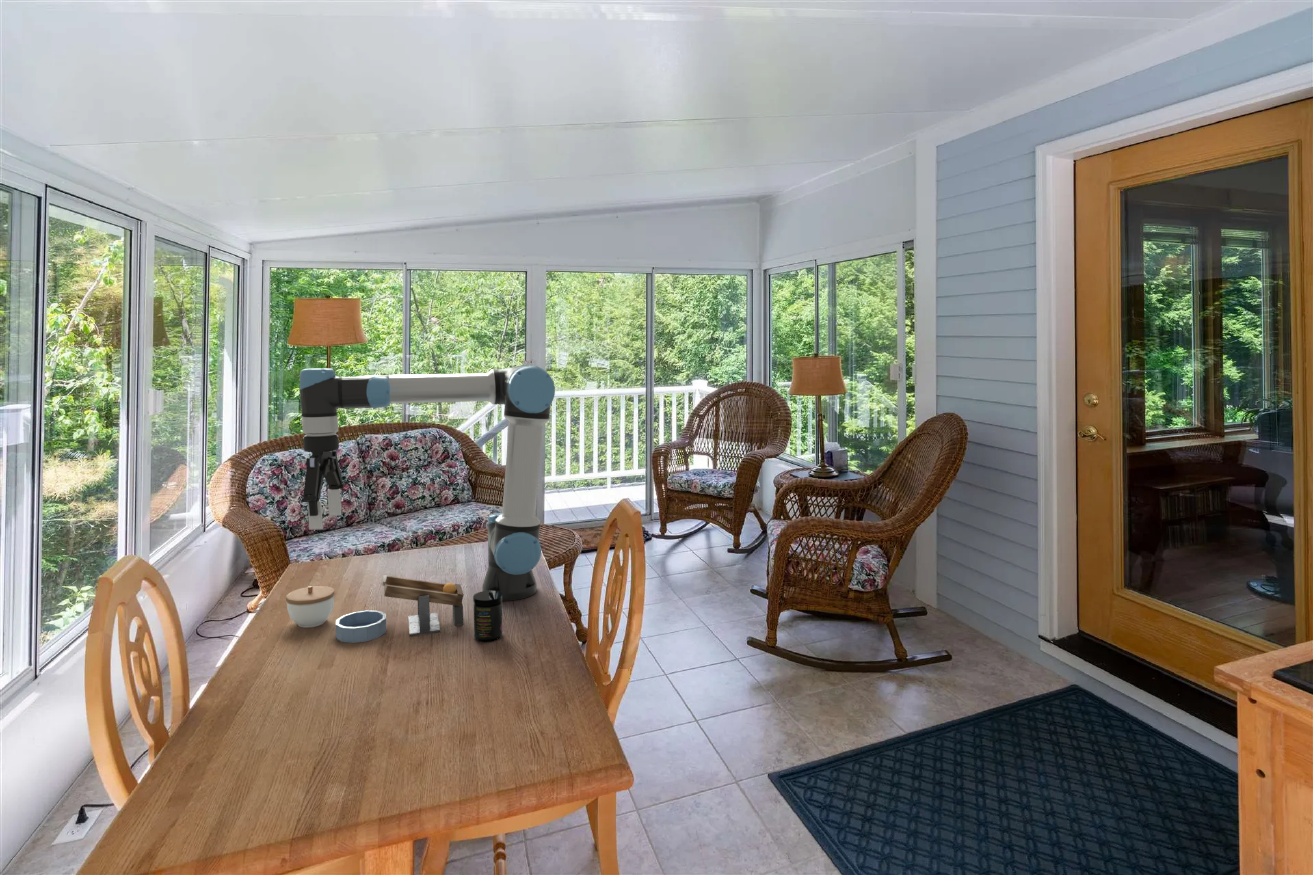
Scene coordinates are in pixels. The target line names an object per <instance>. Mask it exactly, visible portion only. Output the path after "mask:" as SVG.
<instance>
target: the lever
mask: <svg viewBox="0 0 1313 875" xmlns="http://www.w3.org/2000/svg"><path fill="white" fill-rule="evenodd" d="M381 581H382V586H383V587H384V590H383V592H384V593H383V594H384V595H383V596H384V597H385V598H386V597H387V598H395V599H400V600H409V601H416V602H417V601H419V596H420V595H429V603H434V604H439V605H448V606H453V605H455V606H461V603H462V604H463V599H464V595H465V594H464V591H463V588H462V584H460V583H454V585H455V586H456V592H455V593H454V594H451V593H444V592H443V587H444V586H445V585H446V584H447V583H442V582H435V581H427V580H419V579H413V578H407V577H403V576H402V577H401V576H393V575H386V574H383V575H382V580H381Z"/></svg>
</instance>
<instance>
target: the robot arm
mask: <svg viewBox="0 0 1313 875" xmlns="http://www.w3.org/2000/svg"><path fill="white" fill-rule="evenodd" d="M555 395H556V387H555V382H554V381H553V378H552V376H551V375H550V374H549V372H547V371H546V370H545V369H543V368H541V367H539V366H538V365H532V364H531V365H518V366H513V367H507V368H498V369H493V368H492V369H490V370H489V371H488V372H484V373H483V372H480V373H473V372H472V373H436V374H435V373H430V374H429V373H428V374H427V373H422V374H386V375H385V374H378V375H376V374H375V375H374V374H363V375H361V376H337V375H336V373H335V369H333V368H304V369H302V370H301V371H300V372H299V398H300V400H299V401H300V408H301V410H300V411H301V420H300V421H299V423H300V424H301V425H302V433H303V434H305V435H304V436H303V437H302V441H303V442H302V444H303V450H304V452H306V453H311V457H308V458H306V460H305V462H306V465H305V466H306V469H305V477H304V487H303V488H304V489H303V496H302V502H303V503H307V513H308V515H307V516H308V529H309V530H310V531H311V530H323V529H324V525H323V524H324V522H323V521H324V520H323V506H322V500H320V499H321V493H322V488H323V483H324V479H325V481H326V484H327V486H328V489H327V502H328V516H329V517H332V516H335V517H336V516H337V517H338V516H342V498H341V489H344V488H345V484H344V480H343V477H342V473H341V468H340V464H339V461H338V453H337V450H339V449H340V442H339V441H340V440H339V434H337V433H338V432H339V423H338V422H339V419H338V409H370V408H371V409H379V408H388V407H390V405H391V404H392V405H393V404H424V403H426V404H427V403H462V402H464V403H465V402H469V403H470V402H489V403H491V404H492V405H504V410H503V417H504V418H505V419H506V420H507V421H508V435H507V436H508V437H507V445H506V446H507V449H506V460H505V472H504V473H505V475H504V484H503V485H504V486H503V498H502V511H501V512H495V513H491V514H489V515H488V517H487V523H486V526H487V558H488V559H487V560H488V563H487V566H488V567H487V568H486V569H487V570H486V573H485V576H484V579H483V583H482V588H481V589H482V590H481V592H482V591H498V592H501V593H502V602H503V601H507V602H508V601H517V600H522V599H526V598H529V597H531V596H533V595H534V594H535V593H536V592H537V581H536V578H535V575H534V572H533V569H534V568H535V567H536V566H538V563H539V562H540V560H541V556H542V545H541V542H540V533H541V532H540V529H541V520H540V519H539V518H538V517H537V514H536V511H537V510H536V509H537V499H538V498H537V496H538V488H539V487H538V484H539V476H540V474H539V473H540V463H541V462H540V461H541V452H542V451H541V450H542V449H541V448H542V440H543V439H542V438H543V428H544V425H546V423H548V421H549V420H550V415H551V405H552V403H553V401H554V399H555ZM530 595H531V596H530Z"/></svg>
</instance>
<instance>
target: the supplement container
mask: <svg viewBox="0 0 1313 875" xmlns="http://www.w3.org/2000/svg"><path fill="white" fill-rule="evenodd" d="M472 598H473V599H472V604H473V637H474V639H475V641H477V642H479V643H492V642H495V641H498V640H500V639H501V638H502V637H503V631H504V629H503V627H504V626H503V601H502V593H501V592H498V591H482V590H481V591H478V592H476V593H474V594H473V595H472Z"/></svg>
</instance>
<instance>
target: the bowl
mask: <svg viewBox="0 0 1313 875" xmlns="http://www.w3.org/2000/svg"><path fill="white" fill-rule="evenodd" d="M334 626H335V639H336V640H338V641H340V642H341V643H349V644H350V643H352V644H354V643H356V644H357V643H362V642H363V643H364V642H368V641H371V640H375V639H378V638H380V637H382V636H383V635H384V634H385V633H387V613H385V612H382V611H381V610H373V609H372V610H370V609H369V610H359V611H354V612H351V613H347V614H344V615H342V616H340V617H338V618H337V619H336V620H335V625H334Z"/></svg>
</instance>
